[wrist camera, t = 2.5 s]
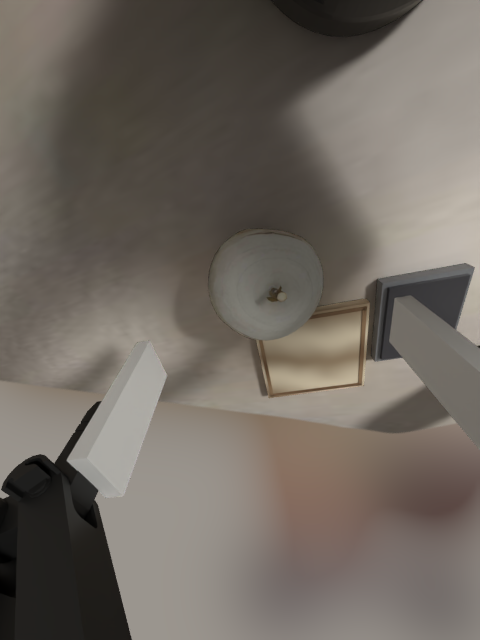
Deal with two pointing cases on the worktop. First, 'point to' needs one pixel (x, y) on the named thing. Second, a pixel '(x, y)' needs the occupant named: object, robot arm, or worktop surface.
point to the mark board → (319, 352)
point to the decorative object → (265, 283)
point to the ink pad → (429, 289)
